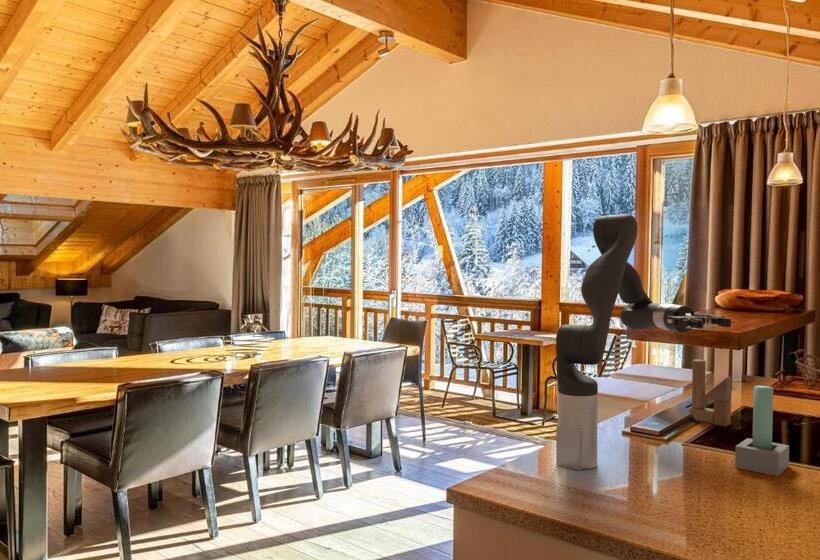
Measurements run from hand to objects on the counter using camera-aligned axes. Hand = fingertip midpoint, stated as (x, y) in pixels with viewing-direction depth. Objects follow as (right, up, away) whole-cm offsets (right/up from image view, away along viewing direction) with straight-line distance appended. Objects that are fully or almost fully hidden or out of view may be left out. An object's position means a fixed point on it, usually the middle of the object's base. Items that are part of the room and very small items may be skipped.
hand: (716, 323), depth 166 cm
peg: (+4, -32, -14) cm, 35 cm away
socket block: (+4, -33, -14) cm, 36 cm away
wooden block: (+10, -31, +26) cm, 42 cm away
